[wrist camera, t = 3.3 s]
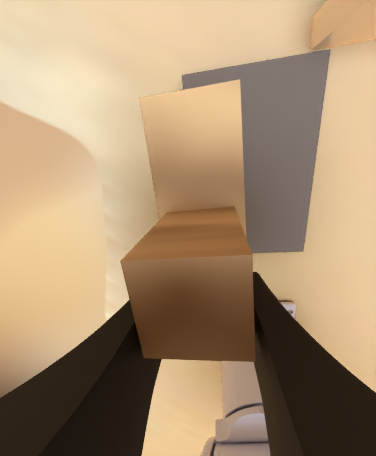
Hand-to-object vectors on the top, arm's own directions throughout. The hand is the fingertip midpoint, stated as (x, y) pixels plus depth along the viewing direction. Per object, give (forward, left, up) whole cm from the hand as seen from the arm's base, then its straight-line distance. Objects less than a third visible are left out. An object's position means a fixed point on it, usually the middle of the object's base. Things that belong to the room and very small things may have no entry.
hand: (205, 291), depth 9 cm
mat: (+3, -3, -10) cm, 11 cm away
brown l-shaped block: (+4, 0, -4) cm, 5 cm away
